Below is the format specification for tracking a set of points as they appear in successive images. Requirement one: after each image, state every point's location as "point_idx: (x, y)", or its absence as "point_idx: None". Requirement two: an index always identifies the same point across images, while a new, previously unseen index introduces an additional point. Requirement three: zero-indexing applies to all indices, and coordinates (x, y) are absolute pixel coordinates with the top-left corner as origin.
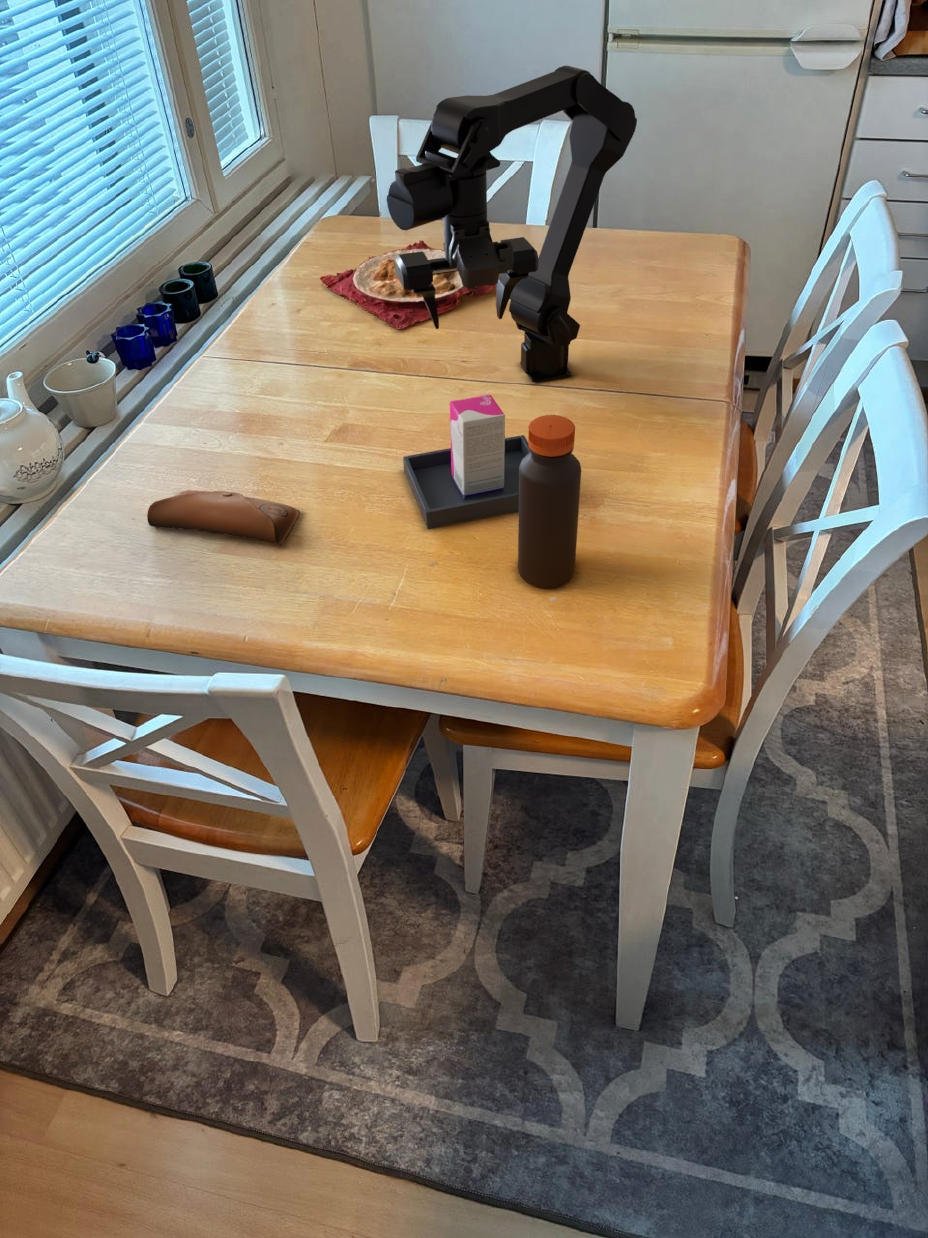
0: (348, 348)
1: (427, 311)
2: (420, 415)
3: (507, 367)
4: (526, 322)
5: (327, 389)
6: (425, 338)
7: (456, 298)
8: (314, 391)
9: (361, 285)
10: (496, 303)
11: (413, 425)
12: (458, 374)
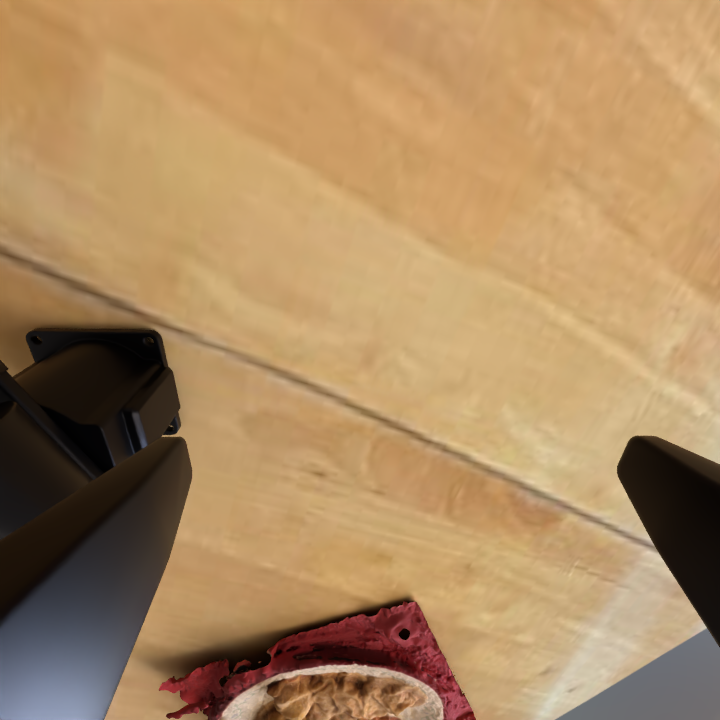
0: (529, 569)
1: (339, 636)
2: (522, 272)
3: (218, 424)
4: (63, 477)
5: None
6: (372, 567)
7: (273, 659)
8: None
9: (431, 712)
10: (159, 569)
11: (566, 224)
12: (350, 429)
